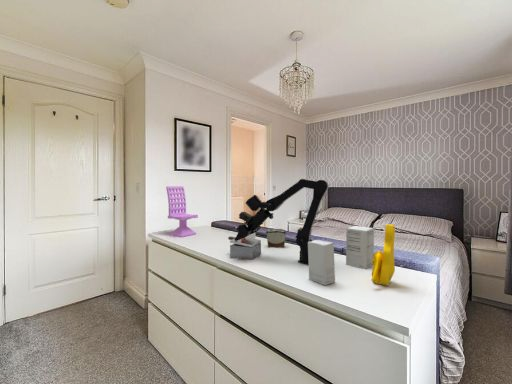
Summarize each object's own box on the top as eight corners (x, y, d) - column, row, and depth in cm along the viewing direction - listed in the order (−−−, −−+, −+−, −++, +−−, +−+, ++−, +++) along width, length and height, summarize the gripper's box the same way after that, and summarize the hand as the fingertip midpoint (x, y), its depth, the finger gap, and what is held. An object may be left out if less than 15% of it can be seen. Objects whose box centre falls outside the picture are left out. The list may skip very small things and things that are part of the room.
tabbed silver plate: (260, 241, 133) (261, 237, 133) (252, 247, 122) (252, 242, 122) (234, 236, 138) (234, 232, 138) (223, 241, 127) (224, 236, 127)
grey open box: (260, 253, 133) (260, 242, 133) (252, 260, 122) (252, 247, 122) (240, 251, 137) (240, 240, 137) (230, 257, 126) (230, 245, 126)
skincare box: (335, 282, 94) (335, 242, 94) (324, 286, 91) (324, 244, 90) (317, 275, 101) (318, 238, 101) (307, 279, 97) (307, 240, 97)
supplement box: (354, 260, 122) (354, 225, 121) (374, 264, 116) (374, 227, 115) (345, 264, 115) (345, 227, 115) (366, 269, 109) (366, 230, 108)
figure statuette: (375, 273, 103) (376, 220, 103) (397, 278, 99) (398, 221, 98) (366, 288, 89) (366, 226, 88) (391, 294, 84) (392, 228, 84)
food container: (286, 245, 152) (286, 228, 152) (286, 247, 146) (286, 230, 145) (266, 244, 153) (266, 228, 153) (265, 247, 147) (265, 230, 147)
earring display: (181, 237, 173) (181, 186, 172) (165, 234, 182) (165, 186, 181) (197, 234, 185) (197, 186, 184) (181, 231, 195) (181, 186, 194)
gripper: (255, 205, 137) (236, 224, 141) (241, 208, 120) (220, 229, 124) (269, 220, 134) (249, 239, 139) (256, 225, 117) (235, 247, 121)
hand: (239, 238), depth 131 cm, fingers open, 9 cm apart
